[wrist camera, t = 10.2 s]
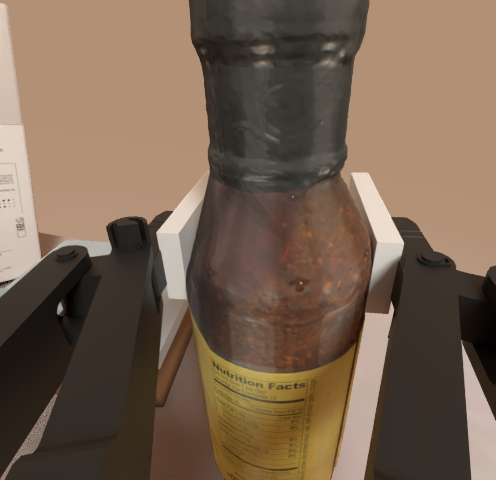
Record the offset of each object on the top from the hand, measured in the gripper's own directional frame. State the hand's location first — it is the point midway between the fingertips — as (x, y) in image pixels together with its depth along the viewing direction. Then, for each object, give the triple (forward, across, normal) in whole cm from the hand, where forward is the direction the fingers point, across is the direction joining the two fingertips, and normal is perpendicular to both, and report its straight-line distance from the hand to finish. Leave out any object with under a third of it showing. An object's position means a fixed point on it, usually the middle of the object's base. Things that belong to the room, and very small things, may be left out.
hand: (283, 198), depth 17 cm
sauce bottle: (-6, 0, -12) cm, 14 cm away
